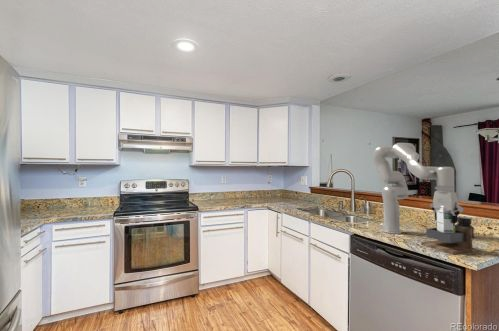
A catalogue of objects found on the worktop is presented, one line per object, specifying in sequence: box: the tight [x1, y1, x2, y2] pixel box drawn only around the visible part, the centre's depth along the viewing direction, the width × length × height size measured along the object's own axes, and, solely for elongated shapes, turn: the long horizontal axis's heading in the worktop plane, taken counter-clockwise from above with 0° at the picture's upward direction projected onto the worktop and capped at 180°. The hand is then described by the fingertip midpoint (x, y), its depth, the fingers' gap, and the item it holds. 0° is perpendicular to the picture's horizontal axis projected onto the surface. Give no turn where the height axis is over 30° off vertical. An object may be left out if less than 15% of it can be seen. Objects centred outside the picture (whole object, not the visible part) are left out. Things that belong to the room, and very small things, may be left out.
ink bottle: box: [455, 216, 475, 239], centre depth 152 cm, size 10×9×12 cm
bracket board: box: [420, 224, 473, 255], centre depth 129 cm, size 16×15×12 cm
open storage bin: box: [425, 227, 466, 243], centre depth 129 cm, size 12×12×4 cm
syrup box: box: [436, 206, 456, 233], centre depth 129 cm, size 6×6×14 cm
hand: (445, 221), depth 129 cm, fingers closed on syrup box, 7 cm apart
